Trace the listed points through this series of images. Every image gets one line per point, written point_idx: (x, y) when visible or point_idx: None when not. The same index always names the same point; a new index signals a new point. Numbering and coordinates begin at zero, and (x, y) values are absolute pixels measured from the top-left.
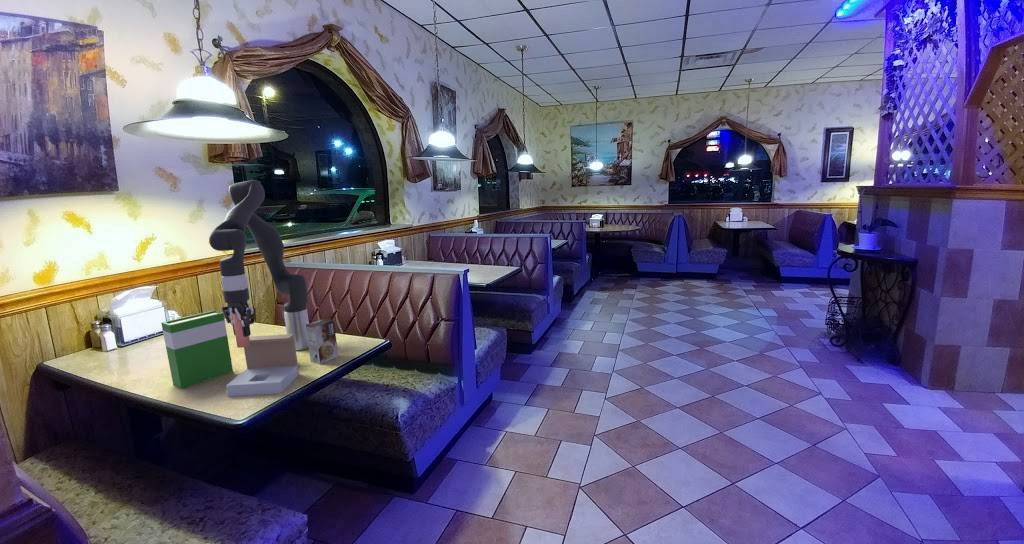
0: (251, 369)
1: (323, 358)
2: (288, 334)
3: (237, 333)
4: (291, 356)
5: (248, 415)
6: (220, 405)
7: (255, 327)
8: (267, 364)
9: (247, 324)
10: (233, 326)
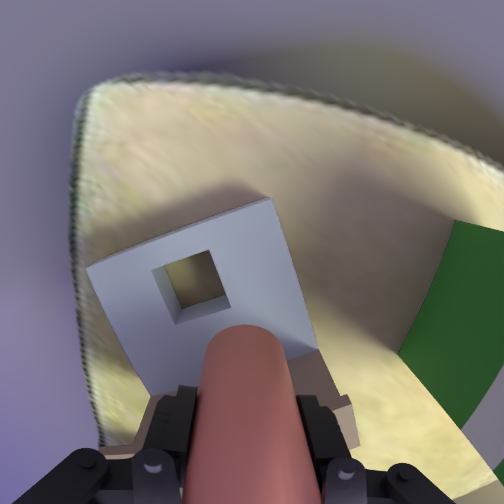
0: (293, 346)
1: None
2: None
3: (242, 391)
4: None
5: (90, 111)
6: (234, 135)
7: (463, 488)
8: None
9: (79, 454)
10: (326, 451)
